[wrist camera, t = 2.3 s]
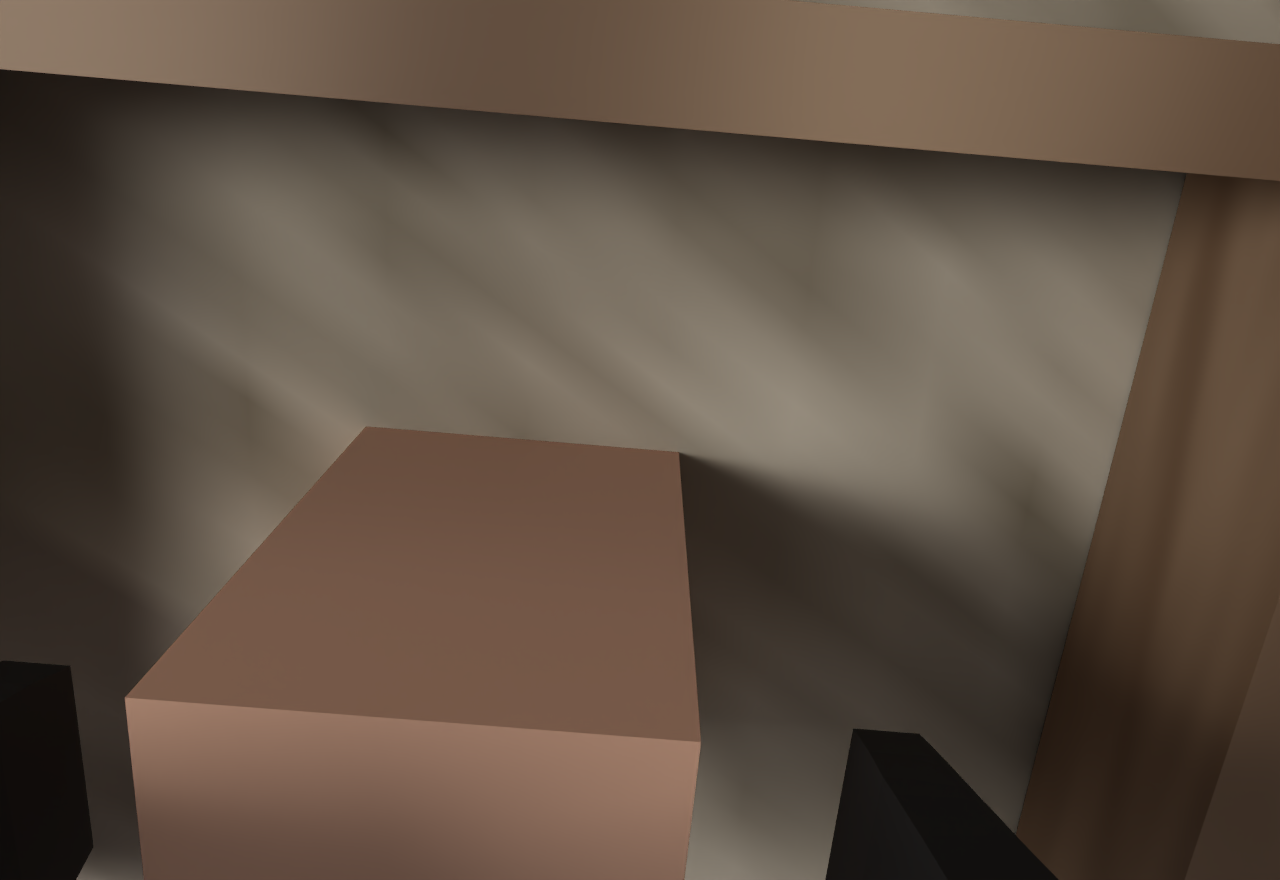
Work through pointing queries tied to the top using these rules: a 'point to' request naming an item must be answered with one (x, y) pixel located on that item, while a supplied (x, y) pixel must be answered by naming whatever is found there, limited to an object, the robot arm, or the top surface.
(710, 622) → the top surface
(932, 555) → the top surface
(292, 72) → the walnut crate
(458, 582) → the terracotta block
